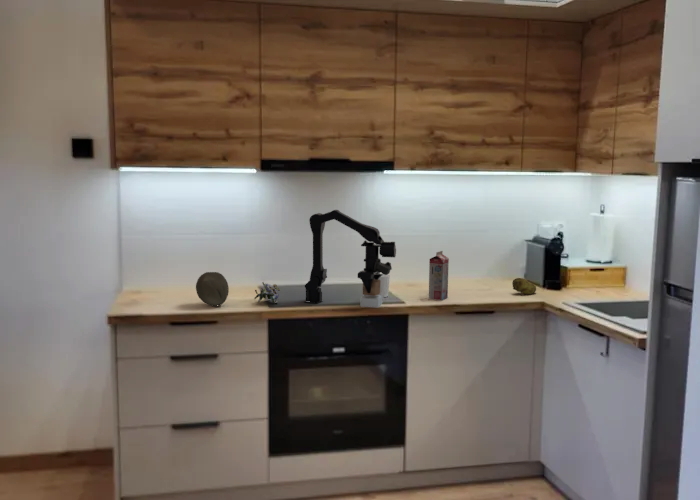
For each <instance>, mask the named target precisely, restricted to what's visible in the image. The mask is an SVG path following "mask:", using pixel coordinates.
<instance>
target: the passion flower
mask: <svg viewBox="0 0 700 500" xmlns="http://www.w3.org/2000/svg"><path fill="white" fill-rule="evenodd" d="M261 284H262V285H263V287H264V288H263V287H261V290H260V293H258V291H257V289H254V292H255V294H256V296H255V297H254V298H253V300H256V299H257V298H258V303H260V302H261V301H262V300H263V299H267V300H268V299H271V300H270V301H272V303H273V304H275V302H278V300H279V296H280V294H279V292H278V291H281V290H280V287H278V286H277V284H276V283H275V284H272V285H271V284H269V283H267V282H266V283H265V282H264V281H263V282H262V283H261Z"/></svg>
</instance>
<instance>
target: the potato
mask: <svg viewBox="0 0 700 500" xmlns="http://www.w3.org/2000/svg"><path fill="white" fill-rule="evenodd" d="M512 289H513V290H515V291H516V292H518V293H521V294H524V295H532V294H535V293H536V291H537V285H535V284H534V283H532V282H530V281H528V280H527V279H526V278H523V277H516V278H515V279H513V281H512Z"/></svg>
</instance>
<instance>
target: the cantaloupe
mask: <svg viewBox="0 0 700 500" xmlns="http://www.w3.org/2000/svg"><path fill="white" fill-rule="evenodd" d="M229 290H230V289H229V283H228V280H227V279H226V277H225V276H224V275H223V274H222V273H220V272H217V271H206V272H204V273H203V274H201V275H199V277H198V278H197V281H196V282H195V291H196V294H197V296H198V298H199V299H200V300H201V301H202V302H203V303H204V304H206V305H208V306H211V307H218V306H217V305H219V306H221V305H223V304H224V303H225V302H226V300H227V298H228V296H229V292H230V291H229Z"/></svg>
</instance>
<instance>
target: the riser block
mask: <svg viewBox="0 0 700 500" xmlns="http://www.w3.org/2000/svg"><path fill="white" fill-rule="evenodd" d="M359 300H360V303H359V304H360V305H359V306H360V307H362V308H365V307H366V308H380V307H381V306H382V305H383V297H382V296H380V295H376V296H372V295H363V296H361V297H360V299H359ZM381 304H382V305H381Z"/></svg>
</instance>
